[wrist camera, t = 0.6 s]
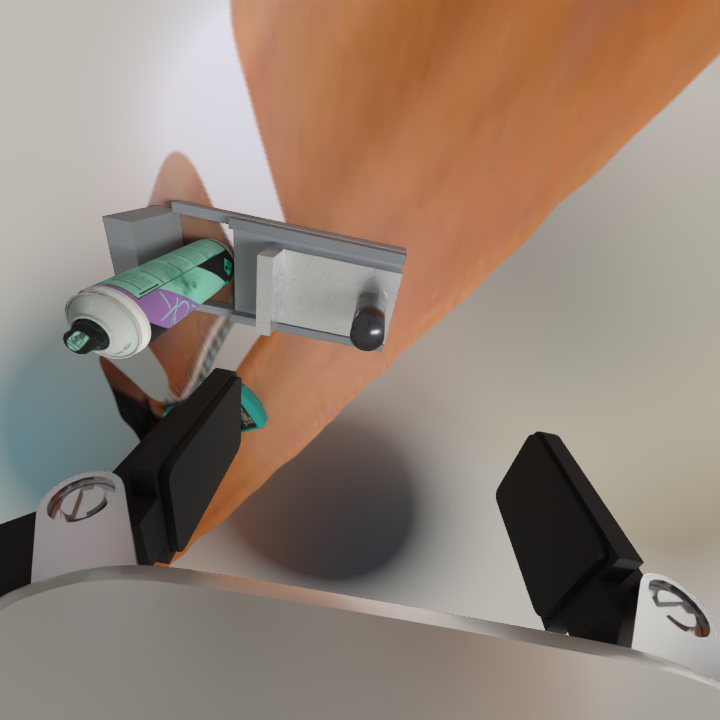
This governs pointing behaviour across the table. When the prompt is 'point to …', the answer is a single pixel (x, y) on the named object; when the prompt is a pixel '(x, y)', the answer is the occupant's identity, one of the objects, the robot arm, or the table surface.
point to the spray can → (146, 299)
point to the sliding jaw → (325, 294)
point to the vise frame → (251, 236)
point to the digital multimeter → (247, 411)
